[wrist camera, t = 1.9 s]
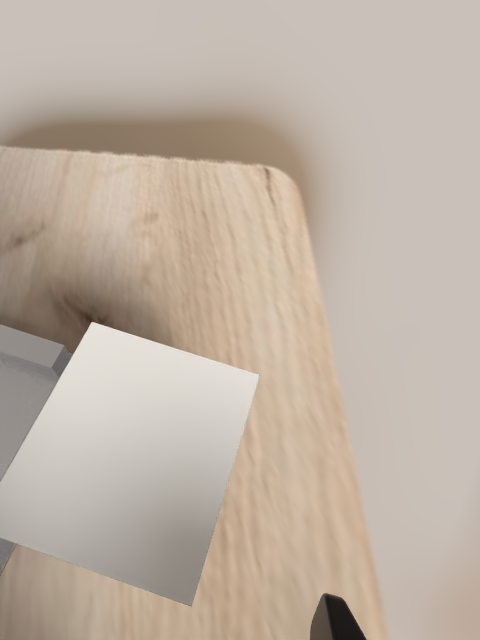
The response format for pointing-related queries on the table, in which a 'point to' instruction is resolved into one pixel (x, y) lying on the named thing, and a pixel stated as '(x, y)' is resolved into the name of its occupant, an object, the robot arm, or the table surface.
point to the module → (129, 462)
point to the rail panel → (24, 394)
